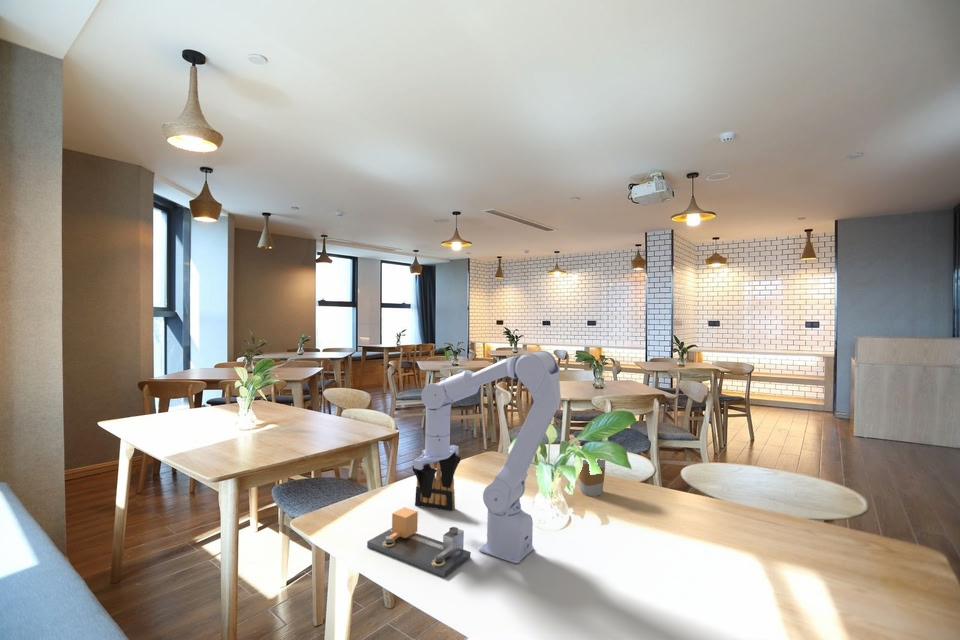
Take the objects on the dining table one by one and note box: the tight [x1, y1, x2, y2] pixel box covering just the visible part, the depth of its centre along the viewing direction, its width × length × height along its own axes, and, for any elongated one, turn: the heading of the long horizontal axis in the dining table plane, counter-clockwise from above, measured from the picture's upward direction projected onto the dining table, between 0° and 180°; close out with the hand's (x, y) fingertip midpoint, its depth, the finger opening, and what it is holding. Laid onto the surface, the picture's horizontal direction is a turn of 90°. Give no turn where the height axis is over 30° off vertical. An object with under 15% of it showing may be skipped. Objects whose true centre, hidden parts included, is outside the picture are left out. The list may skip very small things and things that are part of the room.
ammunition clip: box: [414, 461, 456, 512], centre depth 121 cm, size 11×2×12 cm, turn 73°
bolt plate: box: [366, 526, 471, 579], centre depth 98 cm, size 21×9×6 cm, turn 58°
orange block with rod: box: [386, 507, 419, 543], centre depth 101 cm, size 4×8×4 cm, turn 148°
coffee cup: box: [578, 441, 606, 497], centre depth 133 cm, size 8×8×15 cm
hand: (436, 491), depth 107 cm, fingers open, 7 cm apart
